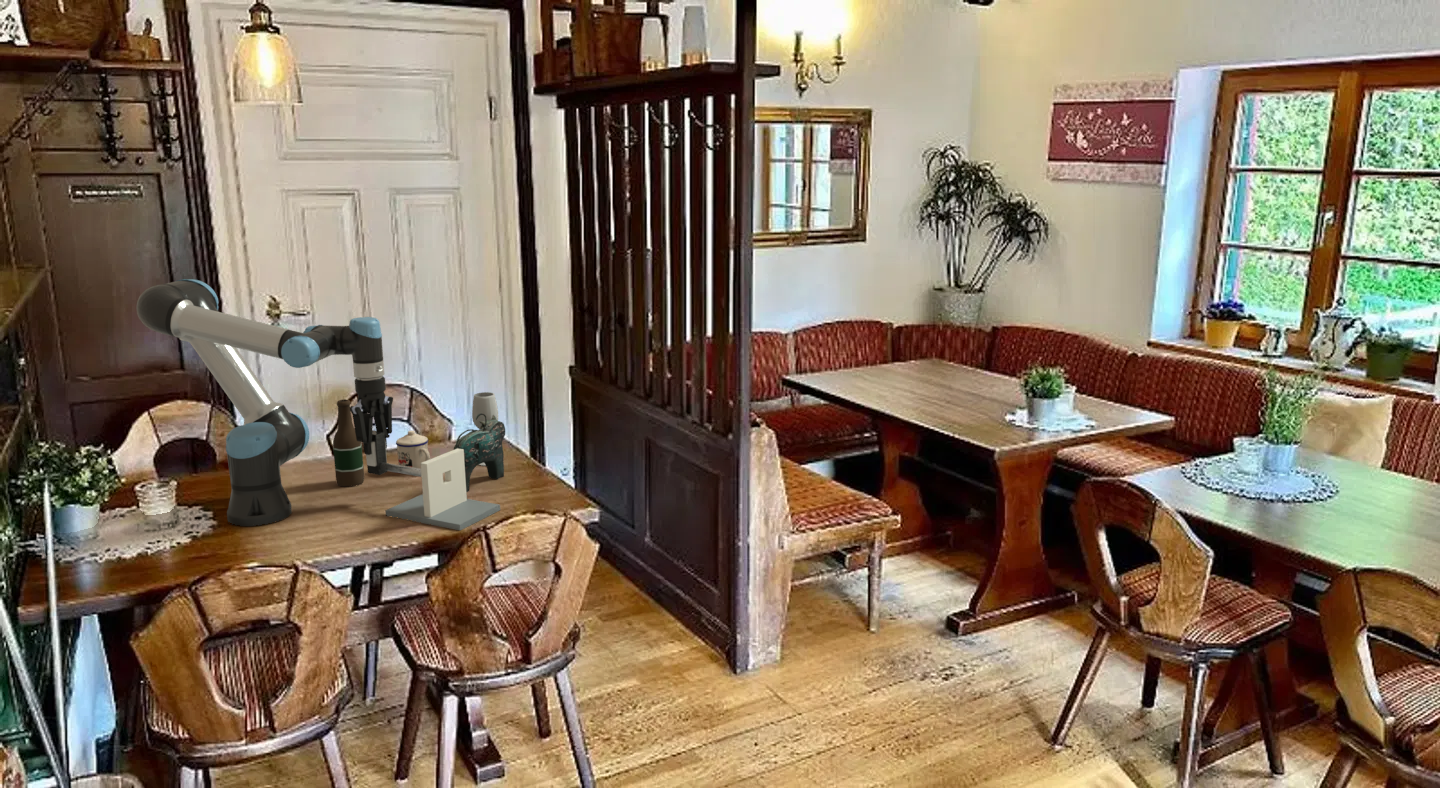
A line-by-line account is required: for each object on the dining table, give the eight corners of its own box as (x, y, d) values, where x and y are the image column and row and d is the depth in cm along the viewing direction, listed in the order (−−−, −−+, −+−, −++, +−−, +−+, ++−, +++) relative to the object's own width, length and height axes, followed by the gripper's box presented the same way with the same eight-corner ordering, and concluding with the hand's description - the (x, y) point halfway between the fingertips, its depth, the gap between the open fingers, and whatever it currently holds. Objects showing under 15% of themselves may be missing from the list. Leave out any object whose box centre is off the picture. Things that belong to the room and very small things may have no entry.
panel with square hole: (460, 530, 250) (456, 470, 246) (385, 515, 260) (380, 458, 256) (500, 510, 264) (497, 453, 260) (428, 497, 274) (424, 442, 270)
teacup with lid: (391, 470, 297) (388, 432, 294) (417, 462, 304) (414, 425, 301) (416, 478, 289) (413, 439, 287) (442, 470, 296) (440, 432, 294)
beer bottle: (356, 488, 281) (349, 404, 275) (330, 486, 282) (322, 403, 277) (370, 479, 288) (363, 397, 283) (345, 477, 290) (337, 396, 284)
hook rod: (433, 484, 259) (430, 443, 256) (367, 473, 268) (364, 433, 266) (441, 481, 262) (438, 440, 259) (376, 469, 271) (372, 430, 268)
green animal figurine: (496, 472, 294) (492, 406, 290) (513, 476, 291) (509, 408, 287) (447, 492, 277) (443, 422, 273) (465, 496, 274) (461, 425, 270)
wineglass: (493, 457, 309) (489, 390, 304) (505, 462, 303) (501, 394, 298) (470, 461, 304) (466, 394, 299) (482, 467, 299) (478, 398, 294)
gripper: (357, 384, 254) (365, 474, 259) (402, 372, 268) (409, 457, 274) (335, 382, 257) (343, 470, 263) (381, 369, 271) (387, 453, 277)
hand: (376, 463), depth 268 cm, fingers closed on hook rod, 3 cm apart
